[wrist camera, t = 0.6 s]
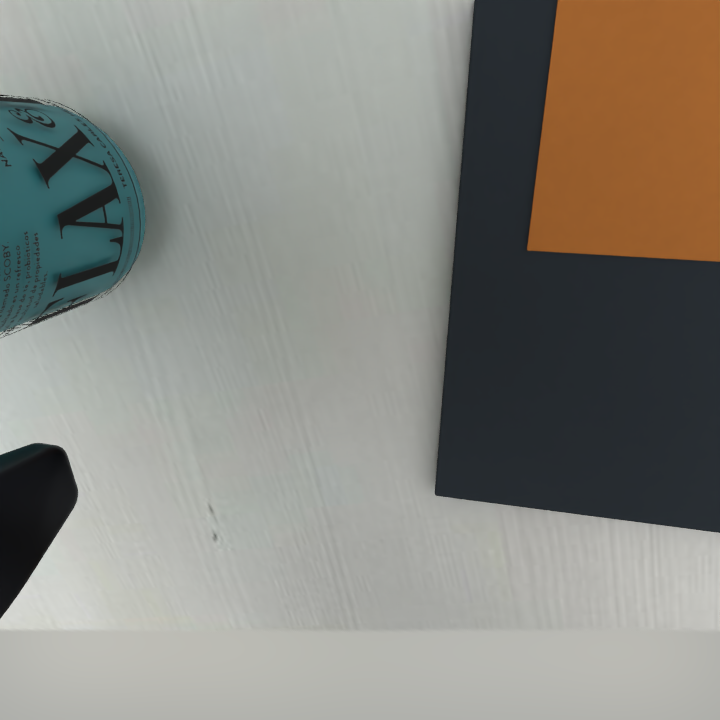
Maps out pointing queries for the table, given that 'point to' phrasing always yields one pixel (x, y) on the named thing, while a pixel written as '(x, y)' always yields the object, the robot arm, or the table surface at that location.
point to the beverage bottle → (61, 212)
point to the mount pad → (588, 263)
